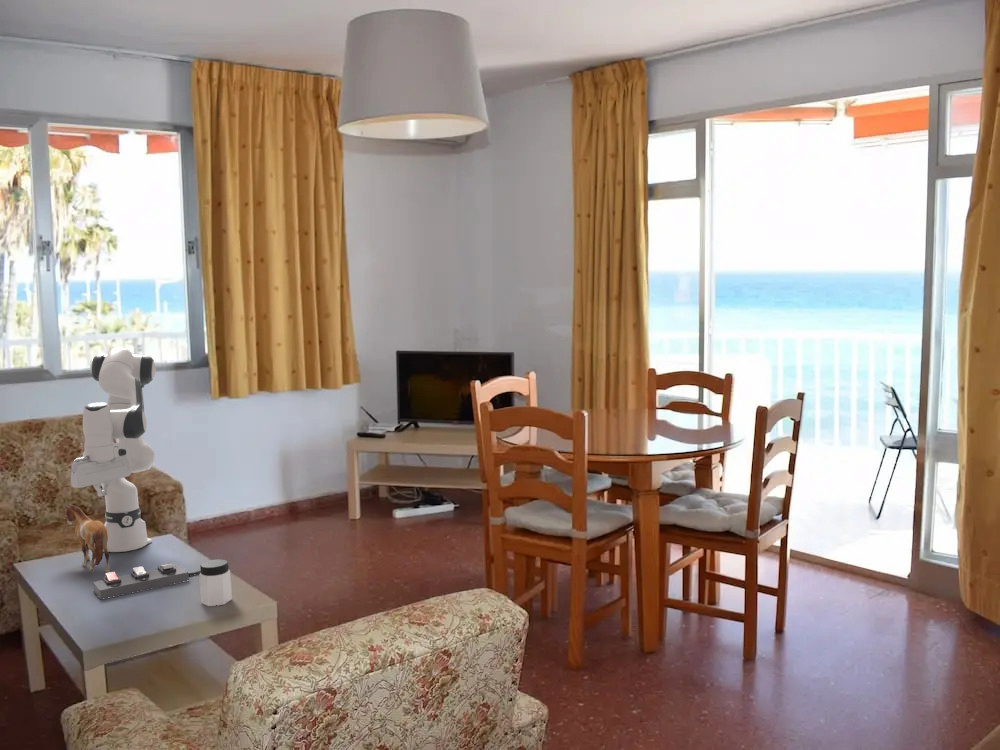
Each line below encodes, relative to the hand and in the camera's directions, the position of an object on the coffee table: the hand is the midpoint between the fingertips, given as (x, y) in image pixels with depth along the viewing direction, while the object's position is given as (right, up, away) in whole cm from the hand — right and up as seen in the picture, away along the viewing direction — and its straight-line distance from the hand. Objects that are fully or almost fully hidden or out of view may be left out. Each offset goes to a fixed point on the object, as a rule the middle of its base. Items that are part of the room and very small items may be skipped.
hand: (103, 495), depth 298 cm
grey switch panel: (+15, -29, +1) cm, 33 cm away
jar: (+42, -30, -17) cm, 54 cm away
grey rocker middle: (+12, -25, 0) cm, 28 cm away
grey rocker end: (+19, -24, +5) cm, 31 cm away
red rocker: (+5, -26, -5) cm, 26 cm away
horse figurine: (-14, -28, +17) cm, 36 cm away
